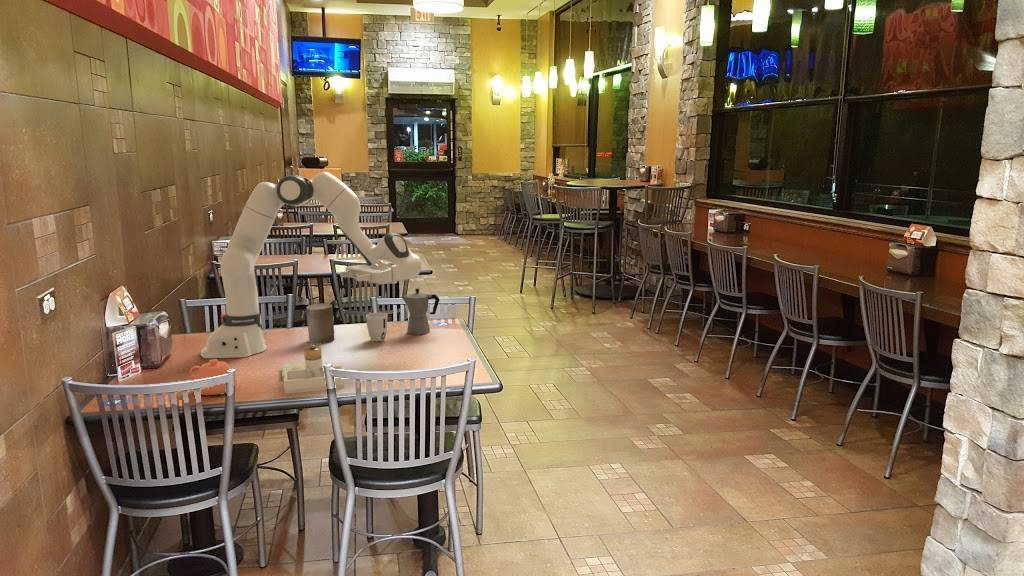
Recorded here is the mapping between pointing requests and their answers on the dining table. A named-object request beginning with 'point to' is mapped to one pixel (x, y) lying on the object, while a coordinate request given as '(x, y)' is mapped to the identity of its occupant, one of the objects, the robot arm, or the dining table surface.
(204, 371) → the sugar bowl
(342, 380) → the trough
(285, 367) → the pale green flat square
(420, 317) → the coffeepot
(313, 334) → the pillar candle
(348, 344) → the dining table surface
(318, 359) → the battery cell
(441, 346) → the dining table surface
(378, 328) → the cup
